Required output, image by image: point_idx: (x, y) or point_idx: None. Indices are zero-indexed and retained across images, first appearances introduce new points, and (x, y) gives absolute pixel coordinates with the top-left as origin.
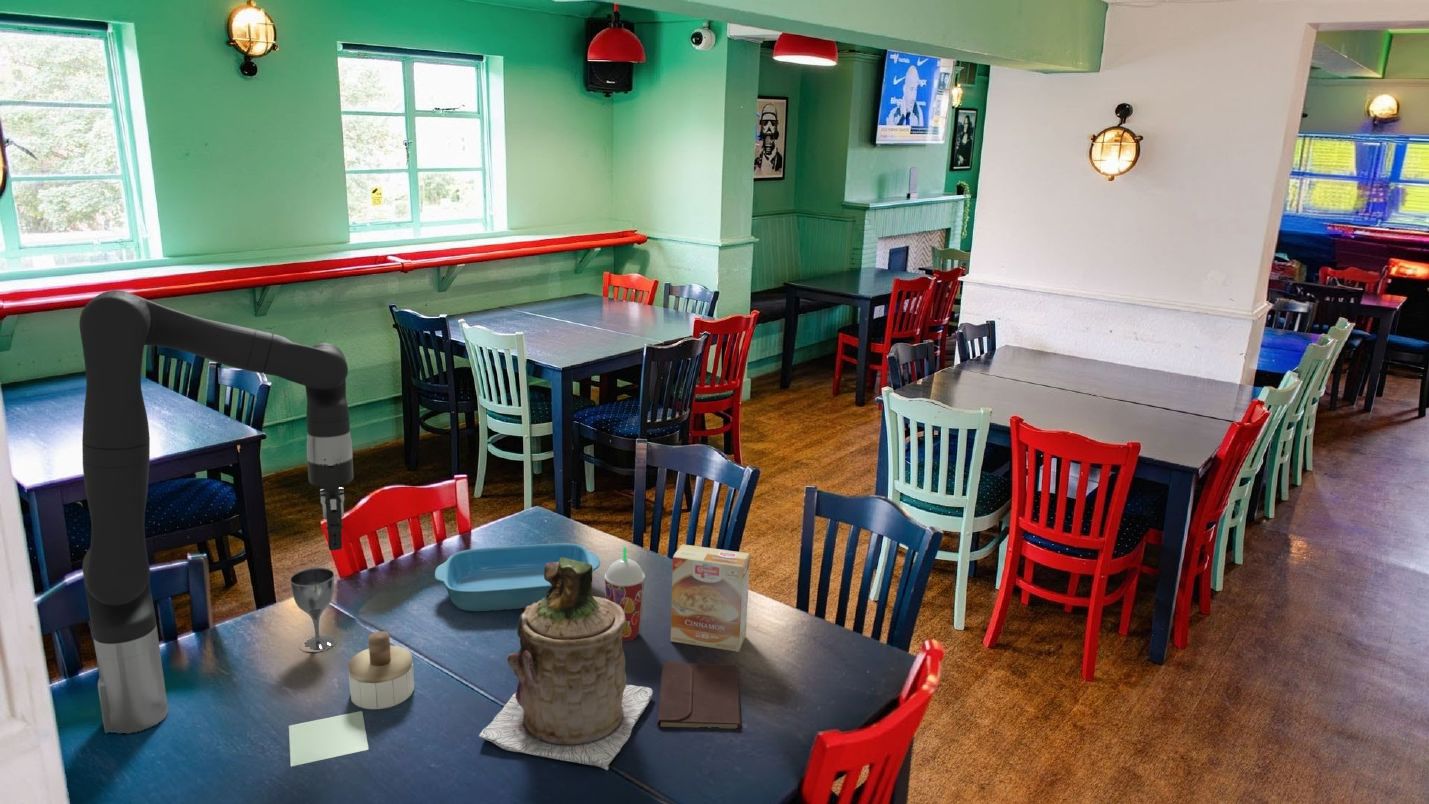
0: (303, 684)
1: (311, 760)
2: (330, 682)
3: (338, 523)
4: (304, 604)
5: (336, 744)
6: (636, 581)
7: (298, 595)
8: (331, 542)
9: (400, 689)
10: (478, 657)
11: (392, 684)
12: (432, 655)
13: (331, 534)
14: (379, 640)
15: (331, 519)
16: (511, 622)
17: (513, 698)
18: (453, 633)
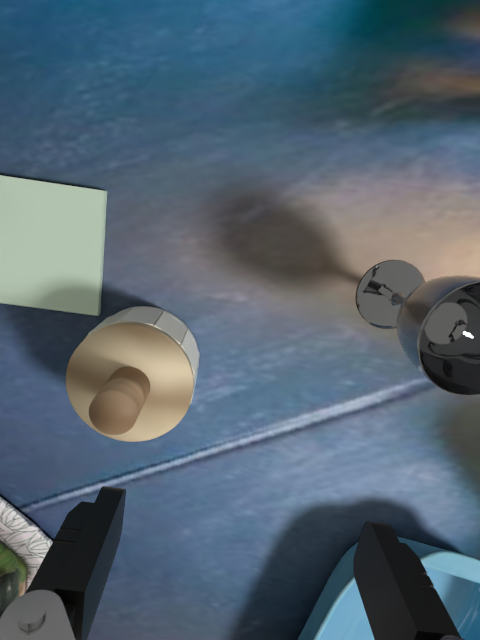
0: (252, 242)
1: None
2: (234, 287)
3: (367, 607)
4: (411, 293)
5: (9, 255)
6: None
7: (432, 287)
8: (57, 535)
9: None
10: (193, 514)
11: None
12: (237, 456)
13: (32, 588)
14: (92, 410)
15: (389, 608)
16: (278, 586)
17: (23, 525)
18: (292, 503)
